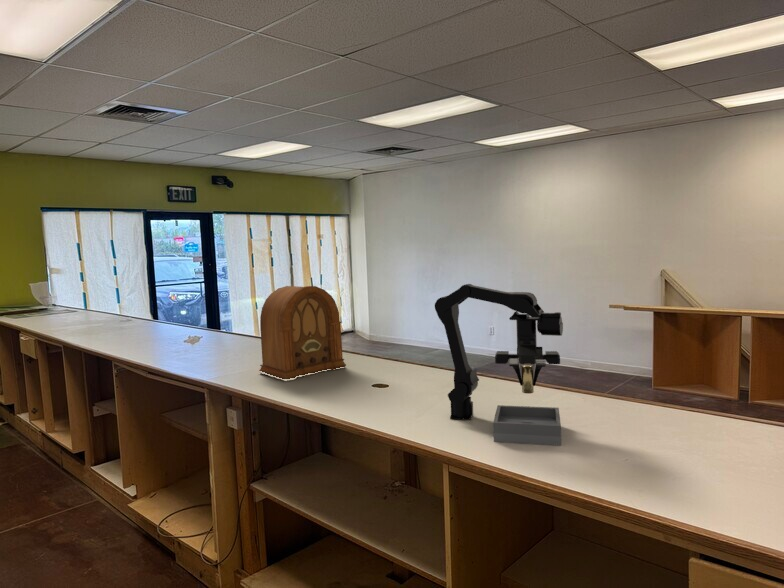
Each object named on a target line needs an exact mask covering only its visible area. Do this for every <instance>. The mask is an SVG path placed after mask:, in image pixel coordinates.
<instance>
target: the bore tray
mask: <svg viewBox="0 0 784 588" xmlns="http://www.w3.org/2000/svg"><path fill="white" fill-rule="evenodd" d="M492 424H493V425H492V426H493V427H492V429H493V430H492V431H493V442H495V443H509V444H510V443H511V444H512V443H513V444H527V445H528V444H529V445H543V446H562V425H561V415H560V408H559V407H555V406H553V407H552V406H525V405H506V404H505V405H503V404H502V405H500V404H497V407H496V411H495V415H494V419H493V423H492Z"/></svg>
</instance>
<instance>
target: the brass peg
mask: <svg viewBox="0 0 784 588" xmlns="http://www.w3.org/2000/svg"><path fill="white" fill-rule="evenodd" d="M520 368H521V377H522V386H521V392H522V393H523V394H533V393H534V392H535V391H534V386H533V378H534V365H533V364H521V365H520Z"/></svg>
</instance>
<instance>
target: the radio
mask: <svg viewBox="0 0 784 588" xmlns="http://www.w3.org/2000/svg"><path fill="white" fill-rule="evenodd" d="M338 308H339V307H338V305H337V303H336V301H335V298H333V296H332V295H331V294H330V293H328V292H327V291H326V289H323V288H320V287H318V286H315V285H306V286H292V285H286V286H282V287H279V288H277V289H275V290H274V291H273V292H271V293H270V294H269V295H268V296H267V298H266V299H265V300H264V303H263V305H262V307H261V310H260V311H261V312H260V320H259V321H260V325H259V326H260V343H261V360H262V364H259V366H260V368H259V370H258V372H259V371H262V372H265V373H267V374H270V375H273V376H276V377H279V378H282V379H290V378H295V377H296V376H299V375H305V374H308V373H315V372H318V371H322V370H327V369H336V368H340V367H345V368H346V366H347V364H346V363H345V362H344V360H345V358H343V345H342V329H341V328H342V326H341V324H342V321H340V311H339V309H338Z"/></svg>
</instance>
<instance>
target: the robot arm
mask: <svg viewBox="0 0 784 588" xmlns="http://www.w3.org/2000/svg"><path fill="white" fill-rule="evenodd" d="M468 298H470V299H473V300H474V299H475V300H479V301H483V302H488V303H494V304H498V305H502V306H505V307H506V308H509V309H511V310H512V311H514V312H513V314H512V315H511V316H510V317H509V321H516V353H509V350H497V351H496V352H495V356H494V359H495V360H494V362H495V364H498V365H503V364H504V365H505V364H508V366H509V367H512V368H513V369H514V372H515V373H516V376H517V379H518V382H519V385H520V386H521V387H522V370H521V365H534V367H533V386H536V383H537V381H538V377H539V373H540V372H541V370H542V368H544V367H546V366H547V365H546V363H548V365H560V364H561V356H560V355H561V354H560V353H559V352H558V351H556V350H555V351H554V350H553V351H552V350H551V351H550V350H549V351H547V350H546V351H545V353H544V354H543V346H537V345H538V343H537V332H538V333H539V334H541V336H555V337H556V336H557V337H558V336H559V337H562V336H563V332H564V323H563V318H562V312H560V311H559V312H557V311H556V312H545V311H544V310H543V308H542V307H541V306H540V305H539V303H538V300H537V297H536V294H534V293H533V292H529V291H528V292H527V291H516V292H515V291H510V292H509V291H503V290H499V289H492V288H489V287H485V286H477V285H474V284H471V283H466V284H462V285H461V286H460V287H458V289H456V290H455V291H453V292H452V293H450V294H448V295H445V296H442V297H440V298H437V299H436V301H435V303H434V310H435V312H436V315H437V317H438V319H439V320H440V322H441V323H442V325H443V326H444V330H445V334H446V339H447V342H448V347H449V351H450V354H451V359H452V363H453V366H454V373H453V386H454V388H453V389H452V390H450V392H448V394H447V397H448V400H449V402H450V415H449V418H450V420H466V421H468V420H469V421H470V420H471V418H472V417H473V415H474V401H472V397H471V395H473V392H474V391H475V390H476V389H477V388H478V386H479V381H480V379H479V377H478V374H477V368H472V367H471V366H470V365H469V361H468V357H467V354H466V350H465V349H466V348H465V346H464V345H465V344H464V341H463V336H462V334H461V333H462V331H461V329H460V325H459V317H460V309H459V307H460V305H461V304H462V303H463V302H465V301H466V300H468Z"/></svg>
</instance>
